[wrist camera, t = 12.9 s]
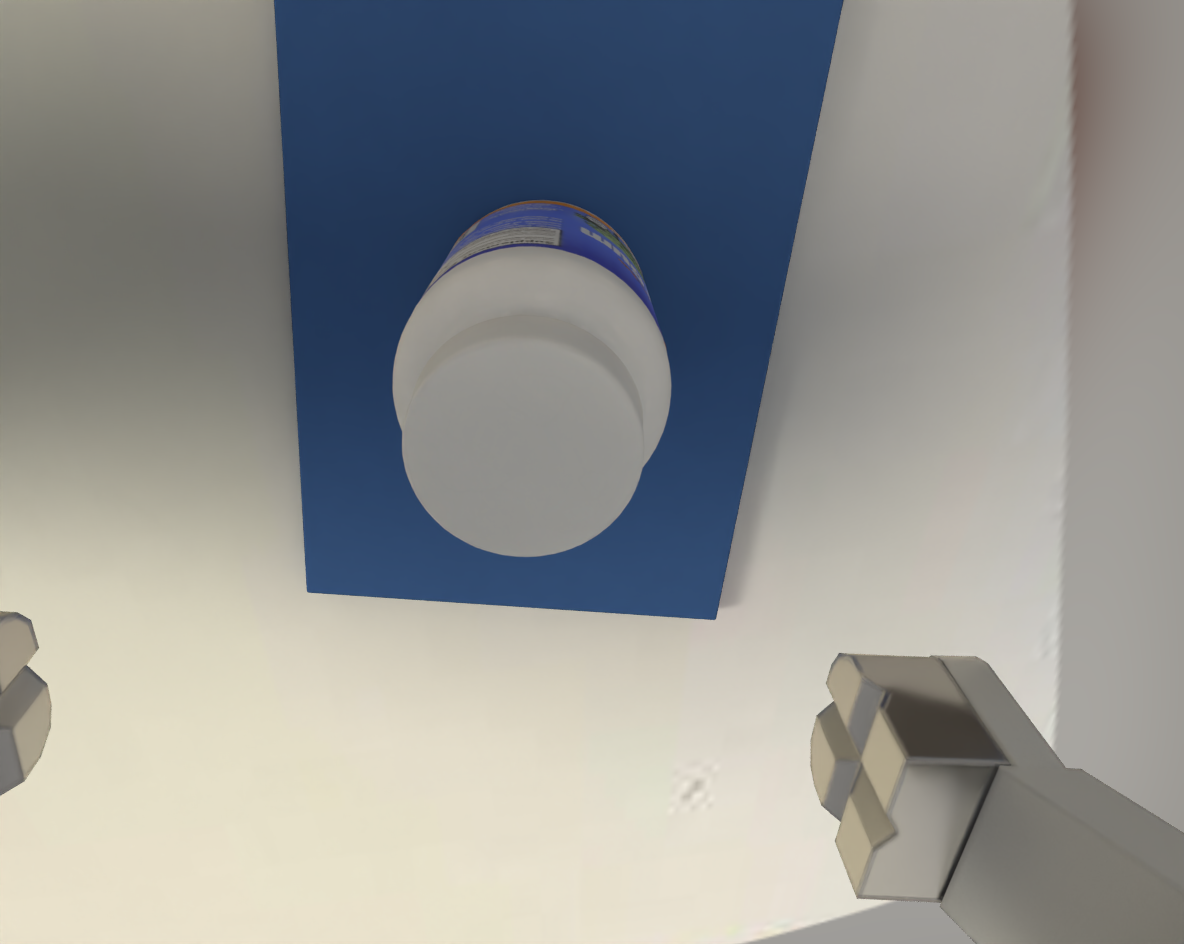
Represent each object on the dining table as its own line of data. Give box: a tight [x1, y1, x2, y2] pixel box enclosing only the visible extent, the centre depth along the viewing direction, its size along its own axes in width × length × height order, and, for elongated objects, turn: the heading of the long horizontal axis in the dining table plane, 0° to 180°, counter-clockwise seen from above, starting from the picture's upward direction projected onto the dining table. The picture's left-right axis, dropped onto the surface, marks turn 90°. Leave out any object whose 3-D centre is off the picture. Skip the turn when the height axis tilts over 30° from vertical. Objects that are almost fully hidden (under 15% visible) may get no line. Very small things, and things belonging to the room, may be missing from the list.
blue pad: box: [274, 0, 843, 620], centre depth 23 cm, size 13×20×1 cm, turn 174°
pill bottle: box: [393, 200, 671, 557], centre depth 18 cm, size 5×5×10 cm
